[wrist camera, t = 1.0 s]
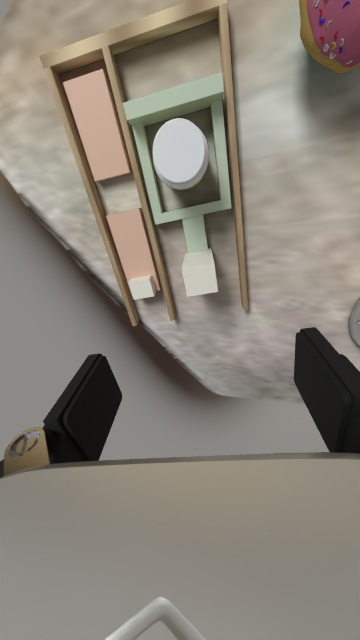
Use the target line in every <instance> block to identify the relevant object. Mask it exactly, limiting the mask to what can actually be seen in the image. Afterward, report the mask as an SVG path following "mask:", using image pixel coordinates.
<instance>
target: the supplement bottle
mask: <svg viewBox="0 0 360 640" xmlns="http://www.w3.org/2000/svg"><path fill="white" fill-rule="evenodd" d="M208 161H209V148H208V144H207V140H206V138H205V136H204V134H203V133H202V131H201V130H200V129H199V128H198V127H197V126H196V125H195V124H193V123H192V122H190V121H189V120H186V119H182V118H176V119H172V120H170V121H168V122H166V123H165V124H164V125H163V126H162V127H161V128H160V129H159V130H158V132H157V134H156V136H155V139H154V143H153V163H154V167H155V170H156V173H157V175H158V176H159V178H160V179H161V180H162V181H163V182H164V183H165V184H166V185H167V186H169V187H171V188H173V189H177V190H181V191H187V190H190V189H193V188H194V187H196V186H197V185H198V184H199V183H200V182H201V180H202V179H203V177H204V175H205V172H206V169H207V166H208Z"/></svg>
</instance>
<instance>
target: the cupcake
mask: <svg viewBox="0 0 360 640" xmlns="http://www.w3.org/2000/svg"><path fill="white" fill-rule="evenodd" d="M299 4H300V16H301V28H300V37H301V40H302V42H303V45H304V47H305V49H306V51H307V52H308V53H309V54H310V55H311V57H312V58H313V59H314V60H316V61H317V62H319V63H320V64H322V65H323V66H325V67H327V68H329V69H331V70H333V71H334V72H336V73H346V72H348V71H350V70H353V69H355V68H358V67H360V0H300V1H299Z"/></svg>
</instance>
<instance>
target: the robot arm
mask: <svg viewBox="0 0 360 640" xmlns="http://www.w3.org/2000/svg"><path fill="white" fill-rule="evenodd" d="M349 331H350V334H351V337H352V338H353V340H354V341H355V342H356V343H357V344H358V345H359V346H360V299H359V301H358V302H357V304H356V305H355V306H354V308H353V311H352V313H351V316H350V320H349ZM294 381H295V384H296V386H297V388H298V390H299V392H300V394H301V396H302V398H303V400H304V402H305V404H306V406H307V408H308V410H309V412H310V414H311V416H312V418H313V420H314V422H315V424H316V426H317V428H318V430H319V432H320V434H321V436H322V438H323V440H324V442H325V444H326V446H327V448H328V450H329V452H327V453H326V452H321V453H274V454H247V455H219V456H193V457H171V458H170V457H169V458H145V459H125V460H103V461H98V460H99V458H100V455H101V453H102V450H103V447H104V445H105V442H106V439H107V437H108V434H109V432H110V429H111V426H112V424H113V421H114V418H115V416H116V413H117V410H118V408H119V405H120V403H121V400H122V393H121V391H120V388H119V386H118V384H117V382H116V379H115V377H114V375H113V372H112V370H111V368H110V365H109V363H108V361H107V359H106V357H105V356H103V355H102V354H93V355H89V356H88V357H87V358H86V360H85V361H84V363H83V364H82V366H81V367H80V369H79V370H78V372H77V373H76V374H75V376H74V377H73V379H72V380H71V382H70V383H69V384H68V386H67V387H66V389H65V390H64V392H63V393H62V395H61V396H60V398H59V399H58V400H57V402H56V404H55V405H54V406H53V408H52V409H51V411H50V412H49V413H48V415H47V416H46V418H45V419H44V421H43V422H44V424H45V425H44V427H43V428H40V427H33V428H30V429H28V430H25V431H24V432H22V433H21V434H19V435H18V436H17V437H16V438H14V439H13V440H12V442H11V443H10V444H9V445H8V447H7V448H6V450H5V454H4V459H3V460H2V461H1V462H0V640H360V372H359V371H358V370H357V369H356V367H355V366H354V365H353V364H352V363H351V362H350V361H349V360H348V359H347V357H345V356H344V355H342V354H339V353H338V352H337V351H336V350H335V349H334V348H333V347H332V345H331V344H330V343H329V342H328V341H327V340H326V339H325V337H324V336H323V335H322V334H321V333H320V332H319V331H318V329H317V328H315V327H313V328H305V329H301V330H300V332H299V333H296V345H295V366H294Z"/></svg>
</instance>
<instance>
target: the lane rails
mask: <svg viewBox="0 0 360 640" xmlns="http://www.w3.org/2000/svg"><path fill="white" fill-rule="evenodd" d="M217 18H218V27H219V39H220V51H221V63H222V75H223V87H224V99H225V111H226V123H227V135H228V147H229V158H230V170H231V182H232V194H233V206H234V218H235V230H236V242H237V254H238V266H239V278H240V290H241V302H242V307H243V310H248V299H247V285H246V270H245V256H244V242H243V227H242V213H241V199H240V184H239V170H238V156H237V141H236V127H235V112H234V98H233V84H232V69H231V55H230V41H229V26H228V12H227V0H189V1H186V2H184V3H181V4H178V5H176V6H173V7H170V8H168V9H165V10H162V11H160V12H157V13H154V14H152V15H149V16H146V17H144V18H141V19H138V20H135V21H133V22H130V23H127V24H125V25H122V26H119V27H117V28H114V29H111V30H109V31H106V32H103V33H101V34H98V35H95V36H93V37H90V38H87V39H84V40H82V41H79V42H76V43H74V44H71V45H68V46H66V47H63V48H60V49H58V50H55V51H52V52H50V53H47V54H44V55H42V56H40V59H41V61H42V64H43V67H44V70H45V73H46V76H47V79H48V82H49V85H50V88H51V90H52V93H53V96H54V99H55V102H56V105H57V108H58V111H59V114H60V117H61V119H62V122H63V125H64V128H65V131H66V134H67V137H68V140H69V143H70V145H71V148H72V151H73V154H74V157H75V160H76V163H77V166H78V169H79V172H80V174H81V177H82V180H83V183H84V186H85V189H86V192H87V195H88V198H89V201H90V203H91V206H92V209H93V212H94V215H95V218H96V221H97V224H98V227H99V230H100V232H101V235H102V238H103V241H104V244H105V247H106V250H107V253H108V256H109V258H110V261H111V264H112V267H113V270H114V273H115V276H116V279H117V282H118V285H119V287H120V290H121V293H122V296H123V299H124V302H125V305H126V308H127V311H128V314H129V316H130V319H131V322H132V325H133V326H137V324H138V322H139V318H138V315H137V312H136V309H135V306H134V303H133V300H132V297H131V294H130V291H129V288H128V285H127V281H126V278H125V275H124V272H123V269H122V266H121V263H120V260H119V257H118V254H117V251H116V248H115V245H114V242H113V238H112V235H111V232H110V229H109V226H108V223H107V220H106V217H105V214H104V211H103V208H102V205H101V202H100V199H99V196H98V192H97V189H96V186H95V183H94V180H93V177H92V174H91V171H90V168H89V165H88V162H87V159H86V156H85V153H84V149H83V146H82V143H81V140H80V137H79V134H78V131H77V128H76V125H75V122H74V119H73V116H72V113H71V110H70V106H69V103H68V100H67V97H66V94H65V91H64V88H63V85H62V82H61V79H60V76H59V74H61V73H64V72H67V71H70V70H73V69H76V68H78V67H81V66H84V65H87V64H90V63H93V62H95V61H98V60H101V59H105V63H106V67H107V71H108V75H109V79H110V83H111V87H112V91H113V95H114V99H115V103H116V107H117V111H118V115H119V119H120V123H121V126H122V130H123V134H124V138H125V142H126V146H127V150H128V154H129V158H130V162H131V166H132V170H133V174H134V178H135V182H136V186H137V190H138V194H139V198H140V202H141V206H142V210H143V214H144V218H145V221H146V225H147V229H148V233H149V237H150V241H151V245H152V249H153V253H154V257H155V261H156V265H157V269H158V273H159V277H160V281H161V285H162V289H163V293H164V297H165V301H166V305H167V309H168V312H169V316H170V320H171V321H172V320H175V316H176V314H175V310H174V306H173V301H172V297H171V293H170V289H169V285H168V280H167V276H166V272H165V268H164V264H163V259H162V255H161V251H160V247H159V243H158V238H157V234H156V230H155V226H154V222H153V217H152V213H151V209H150V205H149V200H148V196H147V192H146V188H145V184H144V179H143V175H142V171H141V167H140V163H139V158H138V154H137V150H136V146H135V142H134V137H133V133H132V129H131V125H130V123H129V122H128V121H127V119H126V115H125V111H124V107H123V103H124V102H125V99H124V95H123V91H122V87H121V83H120V78H119V74H118V70H117V66H116V62H115V57H114V55H115V54H118V53H121V52H124V51H127V50H130V49H132V48H135V47H138V46H141V45H144V44H147V43H149V42H152V41H155V40H158V39H161V38H164V37H166V36H169V35H172V34H175V33H178V32H181V31H183V30H186V29H189V28H192V27H195V26H198V25H200V24H203V23H206V22H209V21H212V20H215V19H217Z"/></svg>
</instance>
